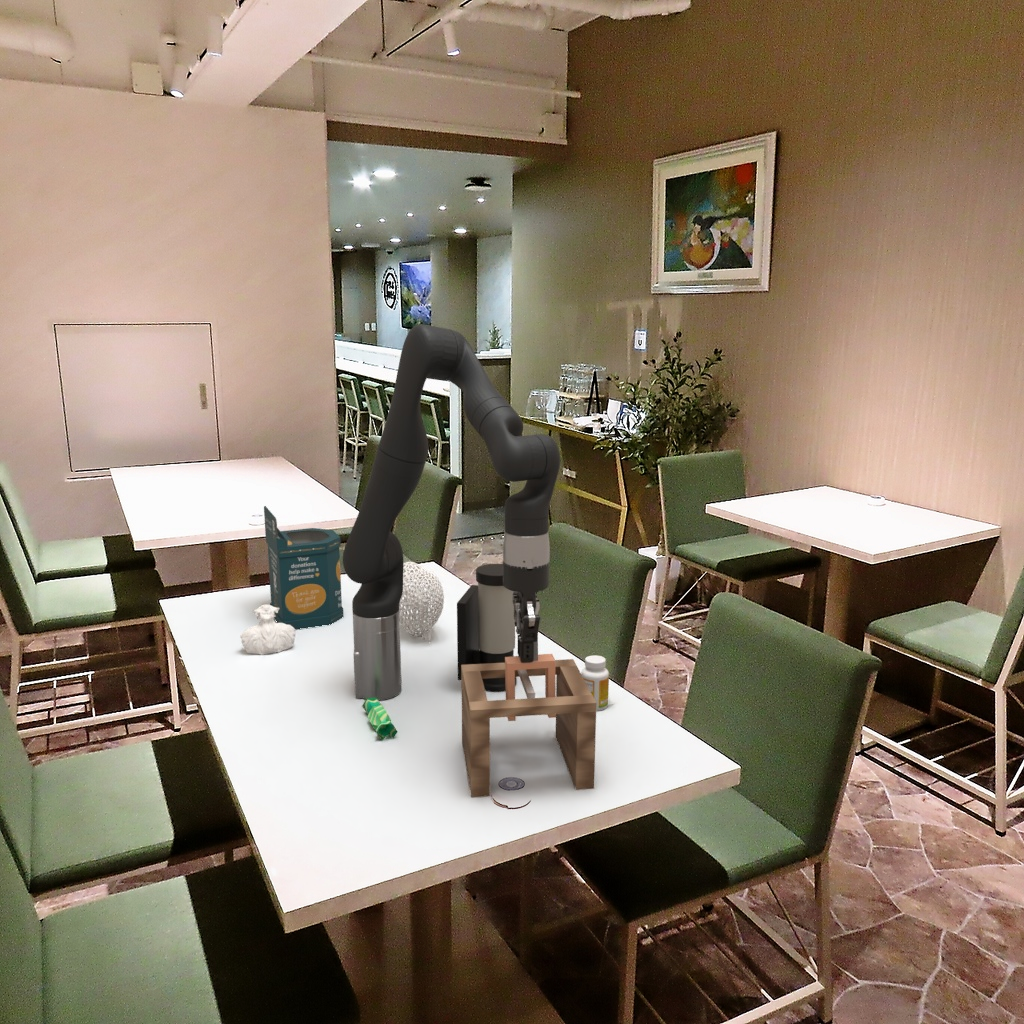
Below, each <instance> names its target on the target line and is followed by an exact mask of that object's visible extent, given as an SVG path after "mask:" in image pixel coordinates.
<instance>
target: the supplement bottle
mask: <svg viewBox="0 0 1024 1024" xmlns="http://www.w3.org/2000/svg"><path fill="white" fill-rule="evenodd" d="M606 661H607V660H606V658H605V657H604V656H601V655H588V656H586V657H585V658H584V667H583V668H582V669H581V671H580V673H581V675H582V677H583V679H584V680H585V682H586V684H587V686H588V688H589V690H590V692H591V694H592V696H593V697H594V699H595V701H596V712H597V711H601V710H602V711H603V710H605V709H606V708H608V706H609V685H610V684H609V682H610V672H609V670H608V669H607V668H606V667H607V666H606V665H607V664H606V663H607V662H606Z"/></svg>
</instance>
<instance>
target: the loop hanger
mask: <svg viewBox="0 0 1024 1024" xmlns="http://www.w3.org/2000/svg"><path fill="white" fill-rule="evenodd" d="M529 634H531V633H529ZM555 660H556V659H555V657H554V655H553V653H542V654H541V653H540V654H539V638H538V639H537V642H534V660H533V662H531V663H522V662H521V661H520V657H519V656H518V655H516V656H515V655H514V656H512V657H505V684H506V691H505V700H511V699H516V686H515V670H526V669H540V668H545V675H544V676H545V677H544V678H545V681H544V682H545V684H544V685H545V686H544V687H545V688H544V690H545V695H544V698H546V697H556V675H555ZM516 717H517V716H515V717H506V718H507V721H508V722H516V720H517V718H516ZM547 717H548V719H552V718H553V719H554V718H555V719H556V714H549V715H547Z"/></svg>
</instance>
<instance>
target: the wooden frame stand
mask: <svg viewBox="0 0 1024 1024" xmlns="http://www.w3.org/2000/svg"><path fill="white" fill-rule="evenodd" d="M537 676H538V677H540V676H542V677H543V676H545V668H540V669H526V670H515V677H516V678H519V679H520V682H521V684H522V688H523V690H524V693H525V696H526V698H517V699H516V698H515V699H511V700H506V699H499V700H497V699H496V700H488V697H487V693H486V692H487V691H485V688H484V684H483V680H482V679H487V678H505V663H488V664H468V665H461V680H460V682H461V745H462V749H463V756H464V757H463V758H464V762H465V768H466V769H465V770H466V774H467V780H468V785H469V791H470V792H469V793H470V797H471V798H479V797H489V796H491V724H490V723H491V720H490V719H493V718H494V719H495V718H507V717H515V716H516V717H527V716H528V717H529V716H546V715H547V716H548V715H549V714H556V717H555V735H554V736H555V737H554V738H555V739H556V742H557V745H558V747H559V750H560V752H561V756H562V757H563V760H564V762H565V765H566V767H567V771H568V773H569V776H570V778H571V781H572V783H573V785H574V788H575V790H577V791H579V790H589V789H595V774H596V773H595V771H596V770H595V769H596V767H595V766H596V735H597V734H596V731H597V711H596V701H595V699H594V697H593V696H592V694H591V692H590V690H589V688H588V686H587V684H586V682H585V680H584V679H583V677H582V675H581V671H580V669H579V667H578V665H577V663H576V662H575V660H574V659H573V658H571V659H570V658H568V659H555V677H556V697H546V698H545V697H536V692H535V689H534V686H533V684H532V681H531V678H530V677H537Z"/></svg>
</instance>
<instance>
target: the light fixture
mask: <svg viewBox="0 0 1024 1024" xmlns="http://www.w3.org/2000/svg"><path fill="white" fill-rule="evenodd" d="M475 581H476V583H477V585H475V584H472V585H470V586H469V588H468V589H467V590H466V591H465V593H463V595H462V596H461V597H460V598H459V600H458V601H457V602H456V632H457V633H456V634H457V635H456V637H457V638H456V639H457V640H456V641H457V643H456V645H457V648H456V649H457V651H456V652H457V680H458V681H461V665H468V664H488V663H505V657H512V656H515V655H514V653H515V652H514V651H515V648H516V627H515V624H514V622H515V620H514V605H513V602H512V600H513V592H514V591H511V590H508V589H507V588H505V587H504V585H503V563H489V564H488V563H487V564H482V565H480V566H478V567H476V568H475ZM517 678H518V677H515V687H516V686H517V681H518V680H517ZM482 680H483V684H484V688H485V692H491V693H501V692H502V693H503V692H506V684H505V678H487V679H482Z"/></svg>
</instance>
